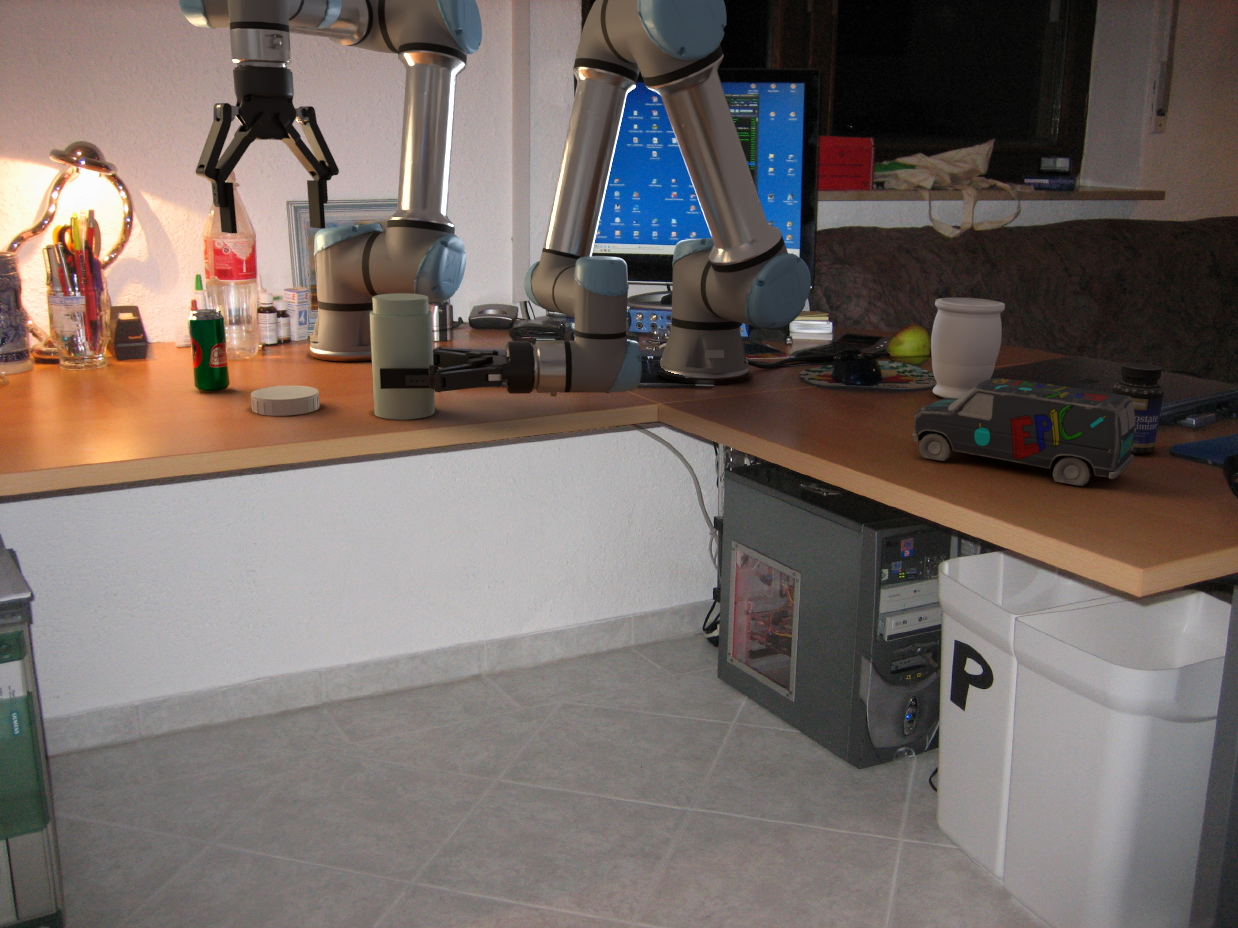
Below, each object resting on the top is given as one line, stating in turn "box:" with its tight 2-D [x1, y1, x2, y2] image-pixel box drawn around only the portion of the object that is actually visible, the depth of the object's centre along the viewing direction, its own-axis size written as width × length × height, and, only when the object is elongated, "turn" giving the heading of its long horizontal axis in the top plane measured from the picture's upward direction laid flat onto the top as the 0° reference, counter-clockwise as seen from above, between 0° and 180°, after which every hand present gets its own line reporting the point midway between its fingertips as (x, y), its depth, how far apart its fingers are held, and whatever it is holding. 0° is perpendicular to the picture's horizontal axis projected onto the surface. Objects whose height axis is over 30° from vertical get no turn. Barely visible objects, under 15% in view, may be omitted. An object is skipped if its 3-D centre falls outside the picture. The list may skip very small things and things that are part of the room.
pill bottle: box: [1111, 362, 1165, 455], centre depth 139 cm, size 6×6×11 cm
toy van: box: [911, 377, 1136, 487], centre depth 131 cm, size 11×25×10 cm, turn 54°
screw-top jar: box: [370, 293, 436, 421], centre depth 151 cm, size 8×8×16 cm
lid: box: [250, 384, 321, 417], centre depth 154 cm, size 9×10×2 cm
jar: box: [930, 297, 1006, 399], centre depth 168 cm, size 11×10×15 cm
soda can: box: [187, 308, 231, 393], centre depth 163 cm, size 5×5×12 cm
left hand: (275, 230), depth 147 cm, fingers open, 13 cm apart
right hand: (383, 368), depth 151 cm, fingers open, 13 cm apart
